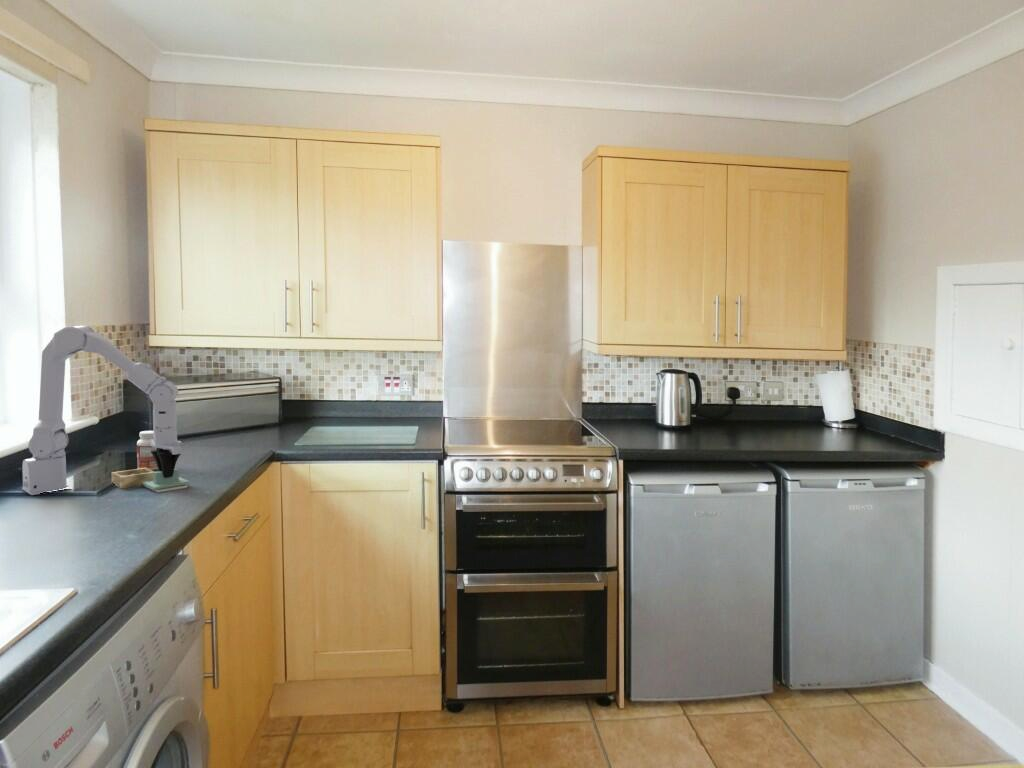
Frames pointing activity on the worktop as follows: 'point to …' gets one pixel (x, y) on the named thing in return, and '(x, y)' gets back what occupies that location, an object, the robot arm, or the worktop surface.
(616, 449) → the worktop surface
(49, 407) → the robot arm
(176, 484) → the lid
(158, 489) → the mat
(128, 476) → the box
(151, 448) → the pill bottle
